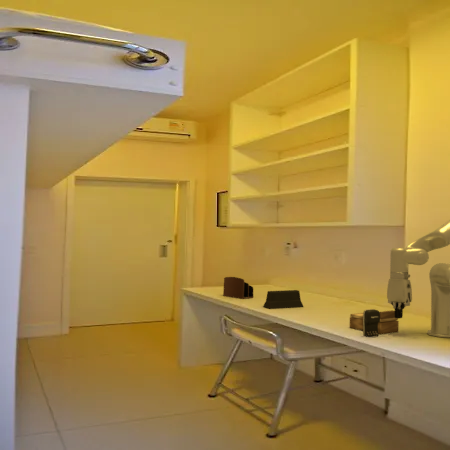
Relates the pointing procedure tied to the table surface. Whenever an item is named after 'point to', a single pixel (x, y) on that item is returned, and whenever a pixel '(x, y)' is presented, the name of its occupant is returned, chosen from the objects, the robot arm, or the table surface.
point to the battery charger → (371, 322)
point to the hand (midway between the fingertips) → (398, 317)
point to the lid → (384, 316)
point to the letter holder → (237, 288)
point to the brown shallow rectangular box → (382, 326)
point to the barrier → (283, 299)
